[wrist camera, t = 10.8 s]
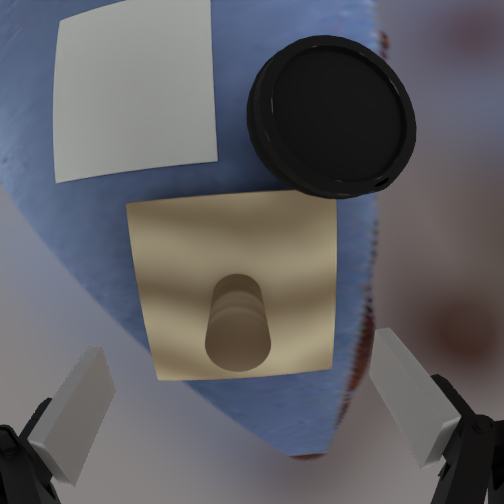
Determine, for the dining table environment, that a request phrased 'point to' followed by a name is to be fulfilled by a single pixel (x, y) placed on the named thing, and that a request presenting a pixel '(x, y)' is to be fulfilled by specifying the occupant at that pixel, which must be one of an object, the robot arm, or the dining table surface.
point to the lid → (236, 283)
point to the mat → (134, 88)
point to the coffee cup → (331, 118)
